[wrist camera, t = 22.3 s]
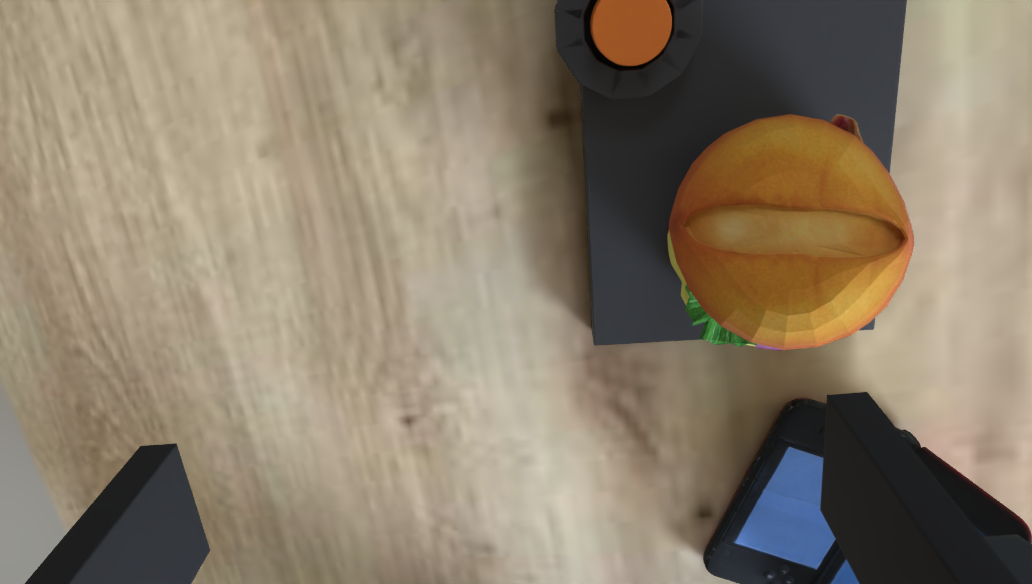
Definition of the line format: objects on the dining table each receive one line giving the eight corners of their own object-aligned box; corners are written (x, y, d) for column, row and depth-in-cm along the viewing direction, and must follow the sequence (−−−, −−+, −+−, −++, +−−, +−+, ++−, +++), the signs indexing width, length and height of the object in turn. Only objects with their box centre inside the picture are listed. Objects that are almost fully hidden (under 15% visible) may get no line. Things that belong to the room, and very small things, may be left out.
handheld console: (788, 387, 42) (837, 466, 35) (964, 446, 43) (1046, 534, 36) (693, 559, 46) (720, 660, 39) (855, 609, 47) (909, 716, 40)
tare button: (588, -15, 32) (590, -15, 30) (666, -21, 32) (672, -22, 30) (591, 65, 33) (593, 69, 32) (666, 59, 33) (672, 63, 31)
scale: (550, -46, 34) (551, -50, 31) (895, -76, 33) (933, -84, 30) (572, 332, 41) (574, 361, 38) (859, 315, 40) (888, 343, 37)
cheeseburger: (728, 372, 39) (752, 442, 30) (621, 193, 39) (609, 205, 29) (918, 272, 37) (1012, 314, 27) (806, 80, 36) (862, 52, 27)
